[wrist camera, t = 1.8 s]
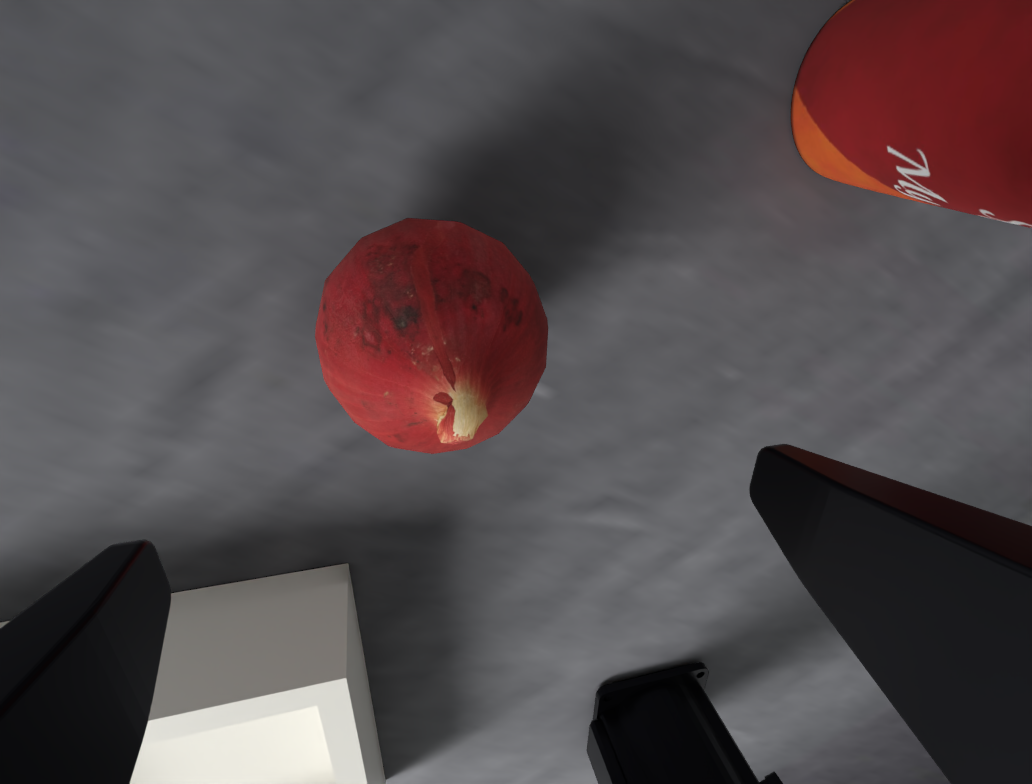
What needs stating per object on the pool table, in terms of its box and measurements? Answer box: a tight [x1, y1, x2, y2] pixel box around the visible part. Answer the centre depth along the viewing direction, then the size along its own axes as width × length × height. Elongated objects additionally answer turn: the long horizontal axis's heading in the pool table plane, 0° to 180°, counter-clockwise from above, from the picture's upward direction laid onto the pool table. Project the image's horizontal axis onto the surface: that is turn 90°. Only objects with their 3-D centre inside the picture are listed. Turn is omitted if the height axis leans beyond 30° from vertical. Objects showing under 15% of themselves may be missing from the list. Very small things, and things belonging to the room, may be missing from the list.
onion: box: [315, 218, 548, 454], centre depth 14 cm, size 6×6×8 cm
